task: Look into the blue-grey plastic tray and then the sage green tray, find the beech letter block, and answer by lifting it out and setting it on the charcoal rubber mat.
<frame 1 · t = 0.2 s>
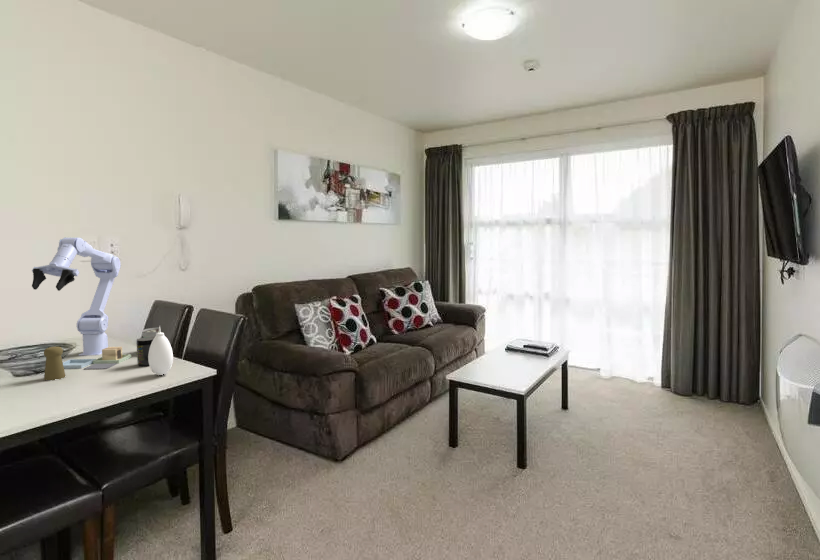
hand: (45, 288, 163), 31 cm above the table, tool tilted 45°, fingers open, 7 cm apart
food container: (150, 353, 195), on the table
sage tray: (112, 361, 181), on the table
cork: (54, 378, 158), on the table
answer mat: (100, 367, 172), on the table
white air blower bulb: (161, 375, 163), on the table
supplement container: (147, 365, 175), on the table
letter block: (112, 360, 181), resting on sage tray
blue-grey tray: (75, 365, 174), on the table
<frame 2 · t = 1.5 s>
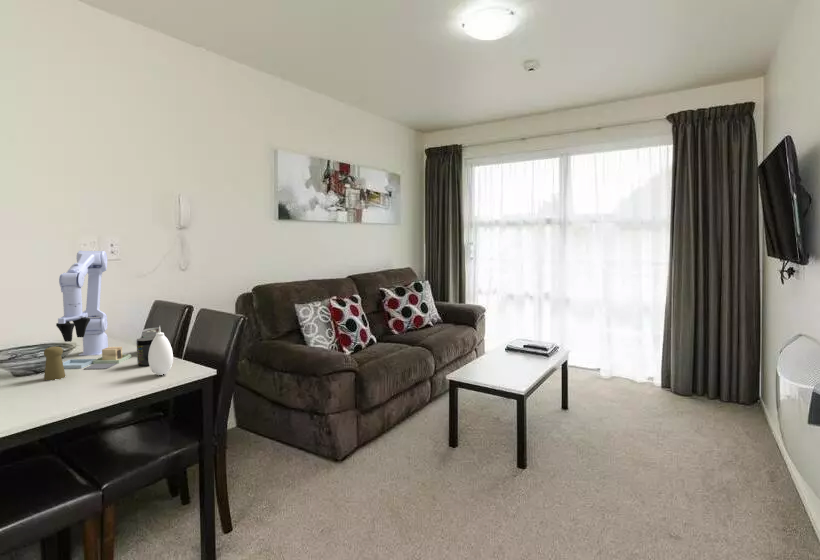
hand: (74, 339, 173), 10 cm above the table, tool pointing down, fingers open, 7 cm apart
nothing on the table moved.
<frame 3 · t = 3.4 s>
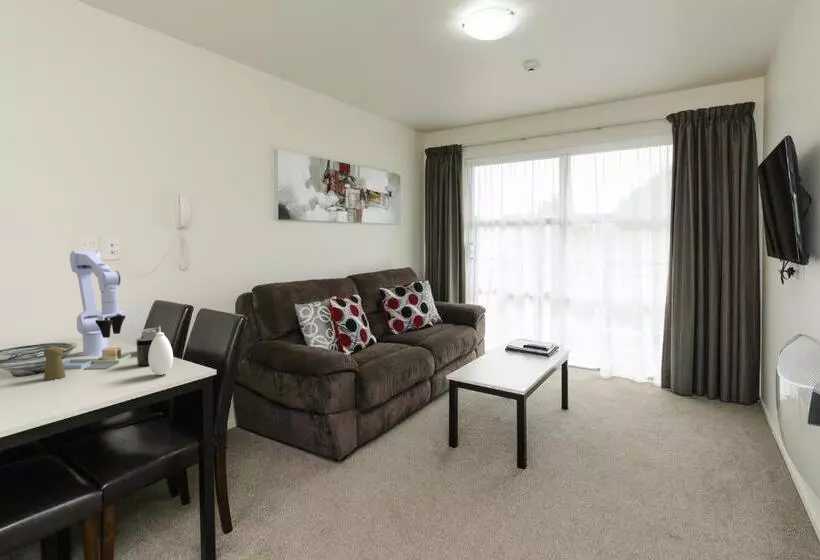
hand: (111, 335, 180), 10 cm above the table, tool pointing down, fingers open, 7 cm apart
nothing on the table moved.
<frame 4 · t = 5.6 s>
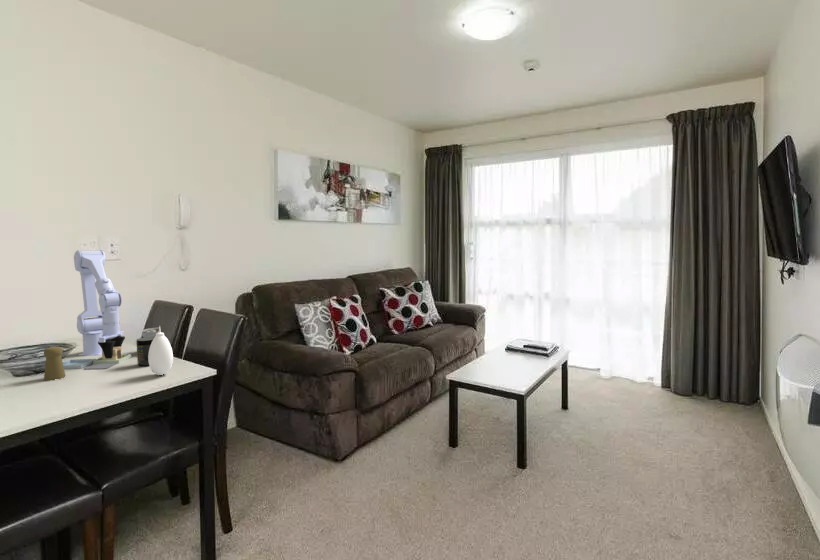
hand: (112, 356, 181), 2 cm above the table, tool pointing down, fingers closed on letter block, 5 cm apart
letter block: (112, 360, 181), resting on sage tray, touching gripper
everything else where it was.
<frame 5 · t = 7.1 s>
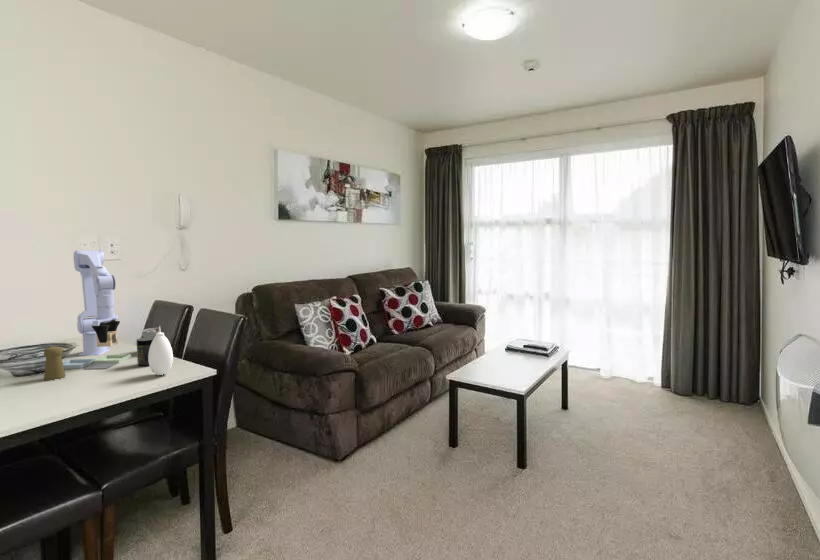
hand: (107, 341, 177), 9 cm above the table, tool pointing down, fingers closed on letter block, 5 cm apart
letter block: (107, 345, 177), point 7 cm above the table, touching gripper
everything else where it was.
when the fingers open (3 cm above the table, at t = 9.0 s): letter block drops 1 cm, resting on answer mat.
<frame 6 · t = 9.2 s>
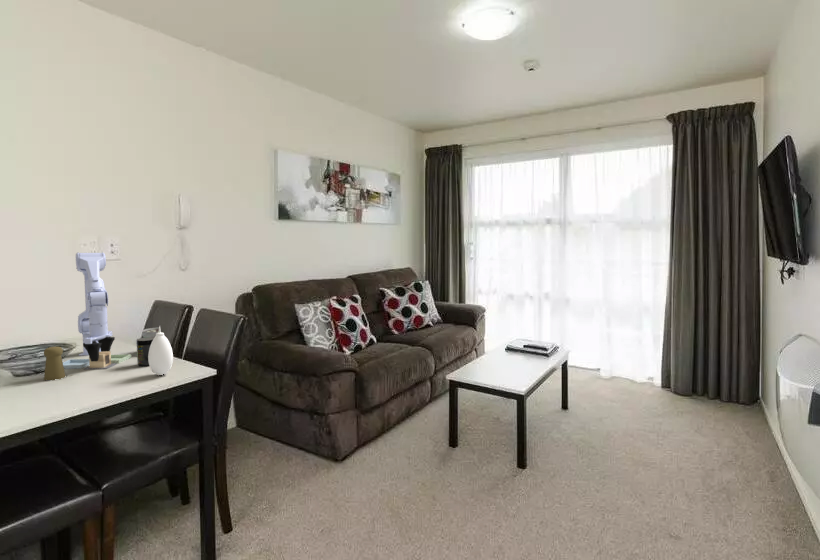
hand: (100, 358, 171), 3 cm above the table, tool pointing down, fingers open, 7 cm apart
letter block: (100, 366, 172), point 1 cm above the table, touching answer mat
everything else where it was.
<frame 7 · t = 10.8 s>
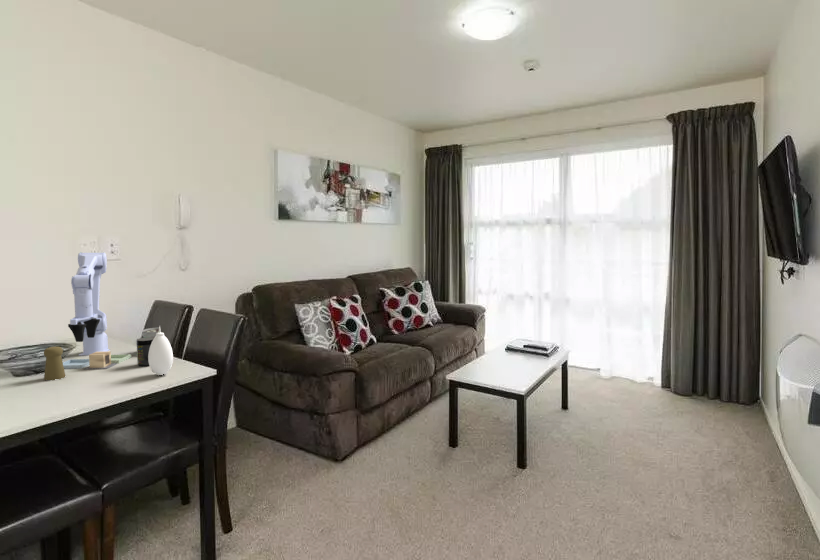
hand: (85, 339, 178), 9 cm above the table, tool pointing down, fingers open, 7 cm apart
nothing on the table moved.
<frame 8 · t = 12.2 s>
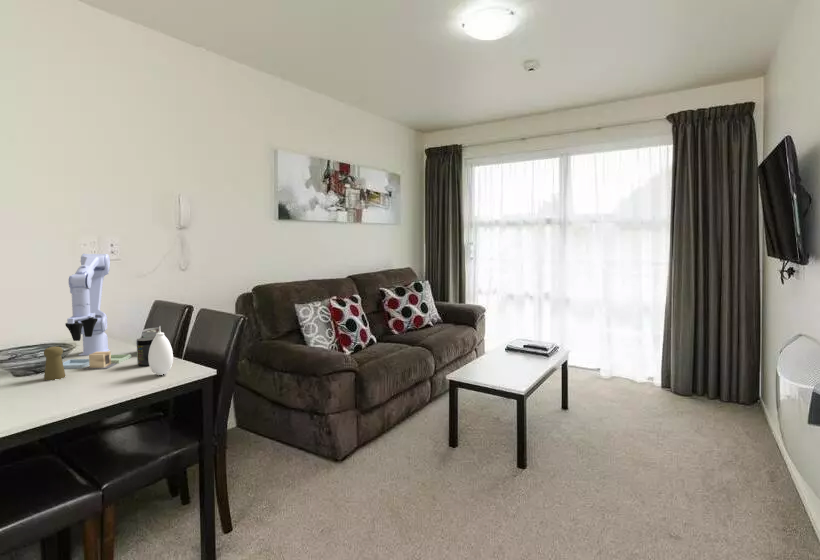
hand: (82, 338, 179), 9 cm above the table, tool pointing down, fingers open, 7 cm apart
nothing on the table moved.
at the end: letter block 0.1 cm off-centre on the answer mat, point 0.6 cm above the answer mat's base; letter block tilted 0°; the gripper is holding nothing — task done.
